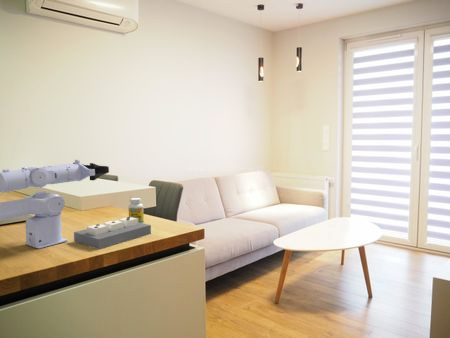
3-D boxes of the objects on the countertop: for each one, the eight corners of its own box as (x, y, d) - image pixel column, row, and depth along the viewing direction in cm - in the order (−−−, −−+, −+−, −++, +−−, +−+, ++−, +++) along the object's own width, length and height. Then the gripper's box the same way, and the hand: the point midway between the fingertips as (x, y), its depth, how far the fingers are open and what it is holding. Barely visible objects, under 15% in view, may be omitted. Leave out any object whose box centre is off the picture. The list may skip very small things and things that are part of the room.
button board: (99, 249, 104) (98, 239, 104) (74, 241, 111) (73, 232, 111) (150, 233, 120) (150, 225, 120) (126, 227, 128) (125, 219, 127)
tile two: (95, 238, 108) (95, 228, 107) (87, 236, 110) (86, 226, 110) (108, 235, 111) (107, 225, 111) (99, 233, 114) (99, 223, 113)
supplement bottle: (143, 221, 136) (143, 197, 136) (143, 225, 131) (143, 199, 130) (129, 222, 135) (128, 197, 134) (128, 226, 130) (127, 200, 129)
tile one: (112, 234, 112) (111, 224, 112) (103, 231, 115) (103, 222, 115) (123, 231, 116) (123, 221, 116) (115, 229, 119) (114, 219, 118)
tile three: (127, 229, 117) (127, 220, 117) (119, 227, 120) (118, 218, 120) (138, 227, 121) (137, 217, 120) (129, 225, 123) (129, 216, 123)
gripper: (75, 161, 108) (113, 158, 119) (51, 160, 117) (89, 157, 128) (77, 184, 109) (114, 178, 120) (53, 181, 118) (90, 176, 129)
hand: (101, 169), depth 124 cm, fingers open, 7 cm apart
